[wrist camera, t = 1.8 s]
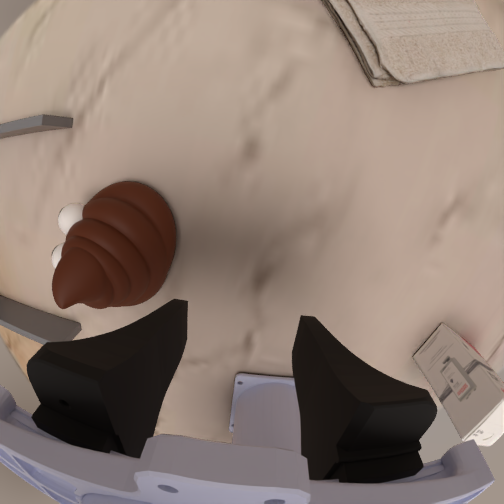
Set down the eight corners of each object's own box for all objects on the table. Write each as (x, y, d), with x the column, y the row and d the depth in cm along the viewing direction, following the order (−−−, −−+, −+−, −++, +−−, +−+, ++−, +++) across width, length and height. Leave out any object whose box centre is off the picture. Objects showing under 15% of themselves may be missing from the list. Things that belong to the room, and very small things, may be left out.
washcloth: (300, -17, 14) (304, -37, 11) (445, -24, 11) (458, -35, 9) (371, 99, 17) (388, 91, 15) (500, 70, 15) (518, 66, 12)
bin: (81, 329, 24) (61, 351, 20) (-2, 299, 24) (-21, 313, 20) (72, 118, 18) (42, 114, 14) (-15, 135, 18) (-40, 137, 14)
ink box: (474, 347, 23) (527, 410, 12) (448, 378, 25) (491, 447, 14) (441, 319, 22) (507, 397, 11) (409, 357, 24) (460, 443, 12)
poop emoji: (156, 313, 23) (110, 386, 14) (76, 269, 22) (10, 318, 13) (198, 205, 20) (150, 240, 11) (104, 163, 19) (20, 172, 10)
